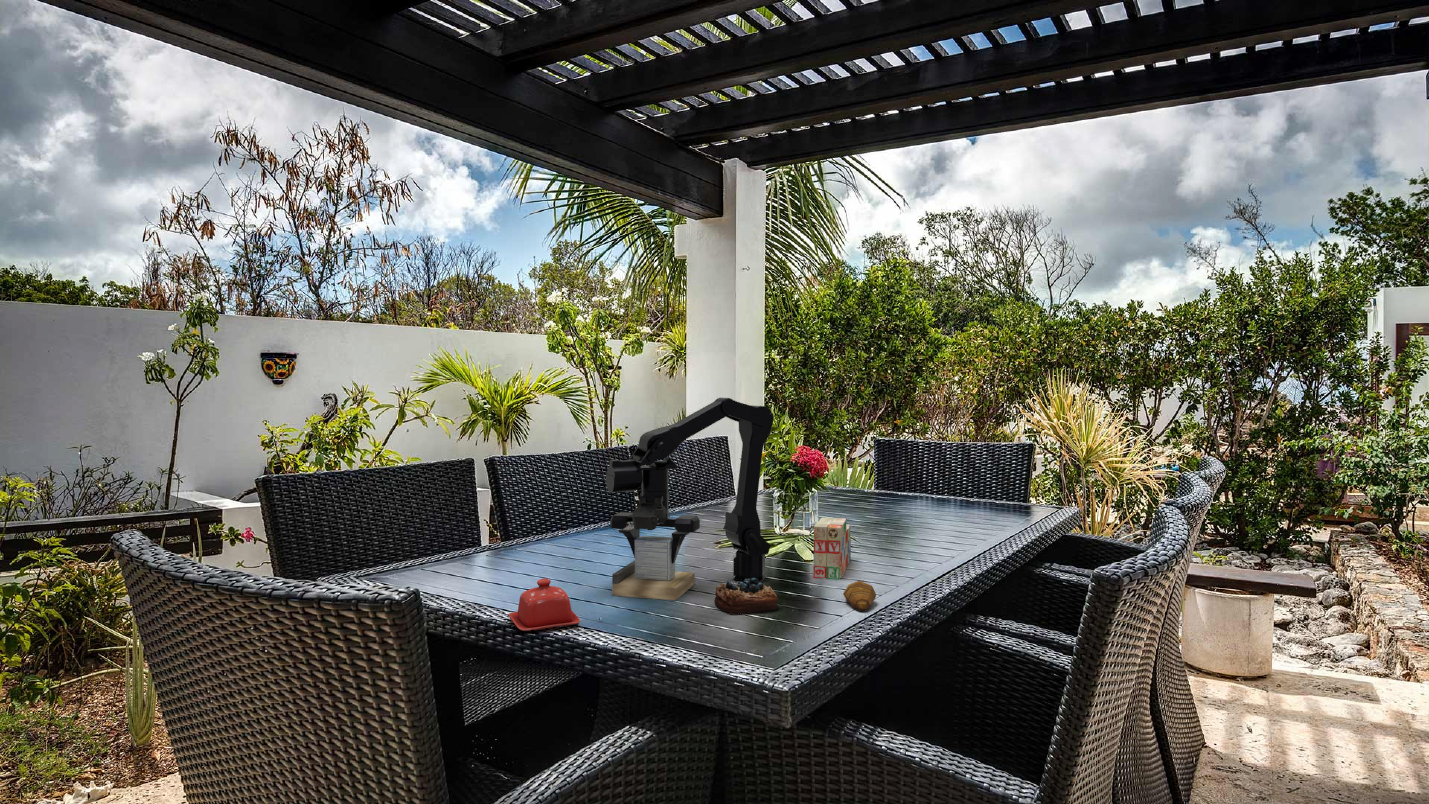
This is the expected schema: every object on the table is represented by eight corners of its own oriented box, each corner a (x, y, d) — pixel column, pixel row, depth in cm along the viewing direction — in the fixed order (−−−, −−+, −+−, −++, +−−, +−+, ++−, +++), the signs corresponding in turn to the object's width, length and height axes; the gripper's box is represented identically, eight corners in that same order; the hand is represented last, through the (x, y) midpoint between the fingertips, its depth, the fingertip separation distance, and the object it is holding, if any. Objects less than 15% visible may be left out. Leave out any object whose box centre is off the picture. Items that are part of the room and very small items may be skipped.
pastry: (708, 603, 165) (708, 574, 164) (761, 597, 169) (761, 570, 169) (728, 618, 154) (728, 587, 154) (784, 611, 159) (785, 582, 158)
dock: (694, 583, 179) (694, 563, 179) (675, 600, 166) (676, 578, 165) (635, 579, 183) (635, 560, 183) (612, 595, 169) (612, 574, 169)
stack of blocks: (826, 559, 206) (826, 511, 205) (851, 560, 204) (851, 512, 204) (813, 578, 185) (813, 525, 185) (840, 580, 183) (840, 526, 183)
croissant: (880, 614, 157) (881, 589, 157) (845, 613, 158) (846, 588, 158) (872, 596, 171) (872, 573, 171) (840, 595, 171) (840, 572, 171)
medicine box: (675, 576, 175) (675, 537, 175) (669, 581, 171) (669, 541, 171) (641, 574, 177) (641, 535, 177) (634, 579, 173) (634, 539, 173)
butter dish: (519, 637, 142) (519, 589, 142) (506, 619, 153) (506, 575, 152) (582, 629, 147) (582, 582, 147) (566, 612, 157) (566, 569, 157)
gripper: (600, 493, 168) (600, 567, 169) (685, 496, 163) (685, 573, 164) (619, 486, 179) (619, 556, 179) (700, 489, 174) (700, 561, 175)
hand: (654, 561), depth 174 cm, fingers closed on medicine box, 8 cm apart
